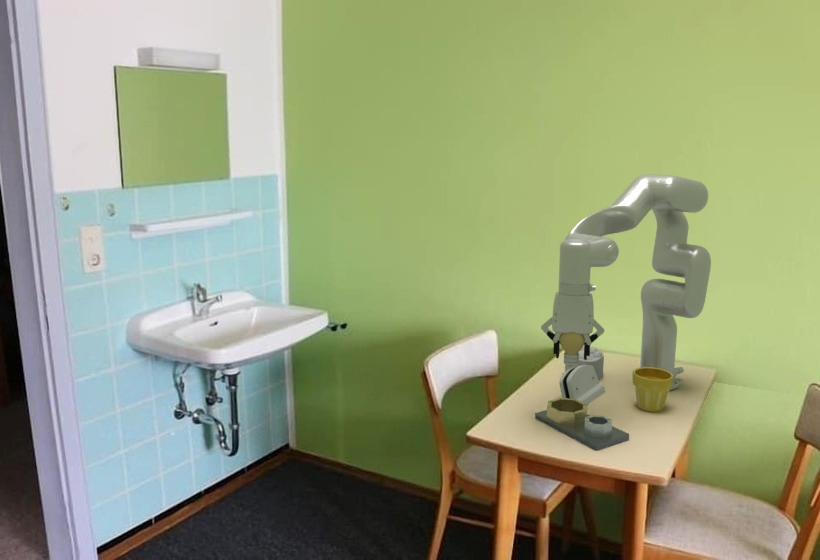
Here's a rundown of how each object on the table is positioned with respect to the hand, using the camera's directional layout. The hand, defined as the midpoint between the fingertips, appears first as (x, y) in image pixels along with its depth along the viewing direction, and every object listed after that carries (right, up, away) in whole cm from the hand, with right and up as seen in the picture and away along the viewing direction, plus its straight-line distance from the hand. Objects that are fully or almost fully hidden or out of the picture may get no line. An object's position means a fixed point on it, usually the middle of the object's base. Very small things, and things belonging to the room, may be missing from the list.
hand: (571, 356), depth 178 cm
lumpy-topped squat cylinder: (+13, -10, +37) cm, 40 cm away
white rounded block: (+7, -14, +20) cm, 26 cm away
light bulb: (0, -2, 0) cm, 2 cm away
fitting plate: (+2, -18, 0) cm, 18 cm away
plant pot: (+25, -15, +13) cm, 32 cm away
